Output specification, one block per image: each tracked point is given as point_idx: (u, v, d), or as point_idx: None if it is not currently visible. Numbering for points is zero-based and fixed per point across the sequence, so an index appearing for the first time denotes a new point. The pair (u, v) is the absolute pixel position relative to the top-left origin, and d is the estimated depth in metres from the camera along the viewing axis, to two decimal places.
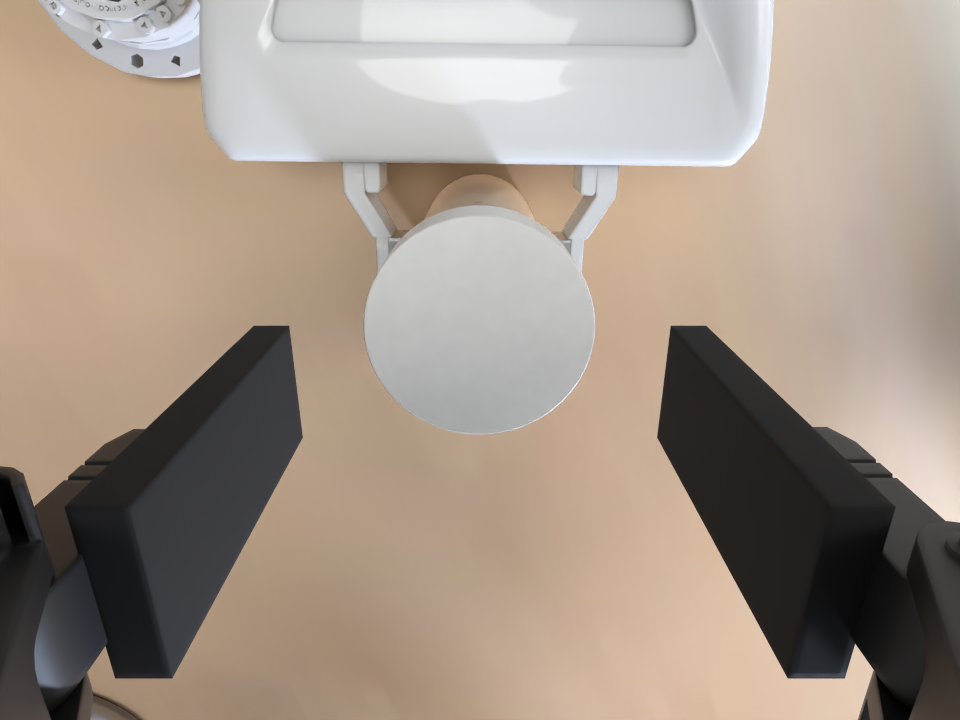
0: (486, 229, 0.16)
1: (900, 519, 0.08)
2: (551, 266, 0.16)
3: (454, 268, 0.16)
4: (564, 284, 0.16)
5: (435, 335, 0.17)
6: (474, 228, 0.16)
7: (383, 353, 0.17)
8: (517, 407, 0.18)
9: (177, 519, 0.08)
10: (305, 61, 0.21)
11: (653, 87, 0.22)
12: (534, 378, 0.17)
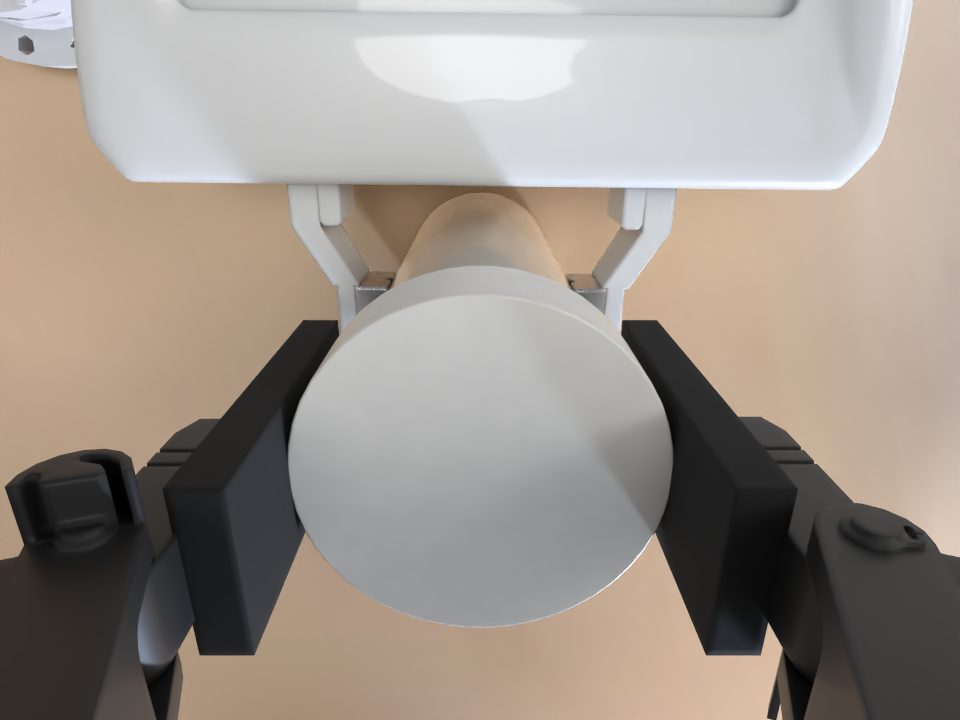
0: (493, 317, 0.09)
1: (812, 502, 0.08)
2: (604, 378, 0.09)
3: (438, 381, 0.09)
4: (625, 406, 0.10)
5: (407, 484, 0.10)
6: (472, 316, 0.09)
7: (322, 511, 0.10)
8: (540, 589, 0.11)
9: (257, 503, 0.09)
10: (226, 38, 0.15)
11: (732, 77, 0.15)
12: (570, 548, 0.11)
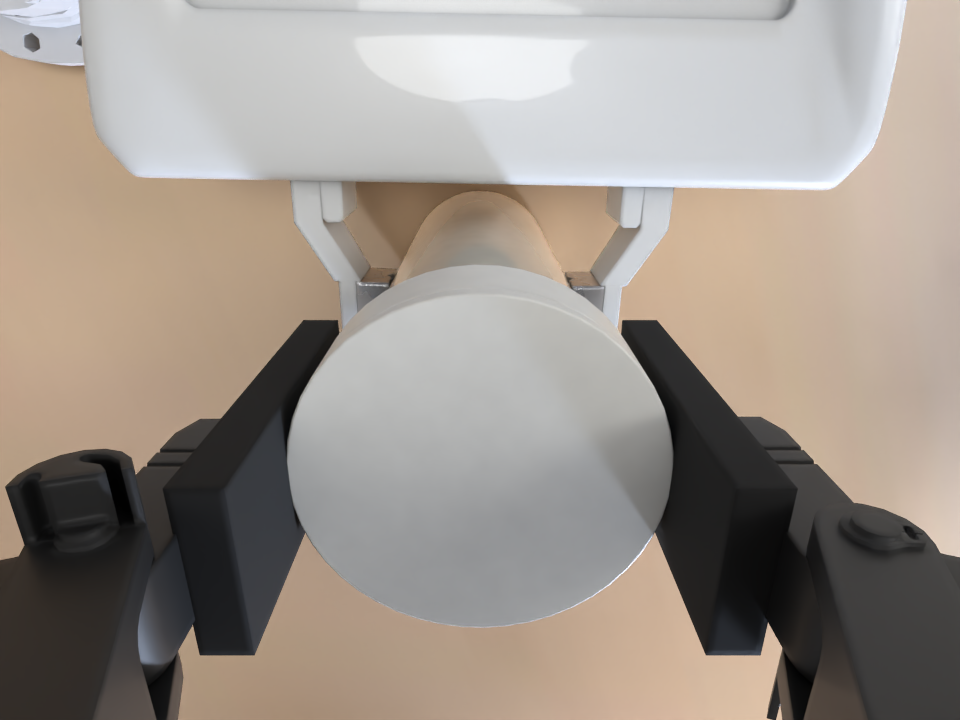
0: (309, 486, 0.10)
1: (811, 502, 0.08)
2: (347, 386, 0.09)
3: (378, 523, 0.10)
4: (374, 361, 0.09)
5: (491, 540, 0.11)
6: (311, 501, 0.10)
7: (528, 603, 0.11)
8: (618, 409, 0.10)
9: (258, 502, 0.09)
10: (232, 37, 0.15)
11: (730, 78, 0.15)
12: (557, 386, 0.09)
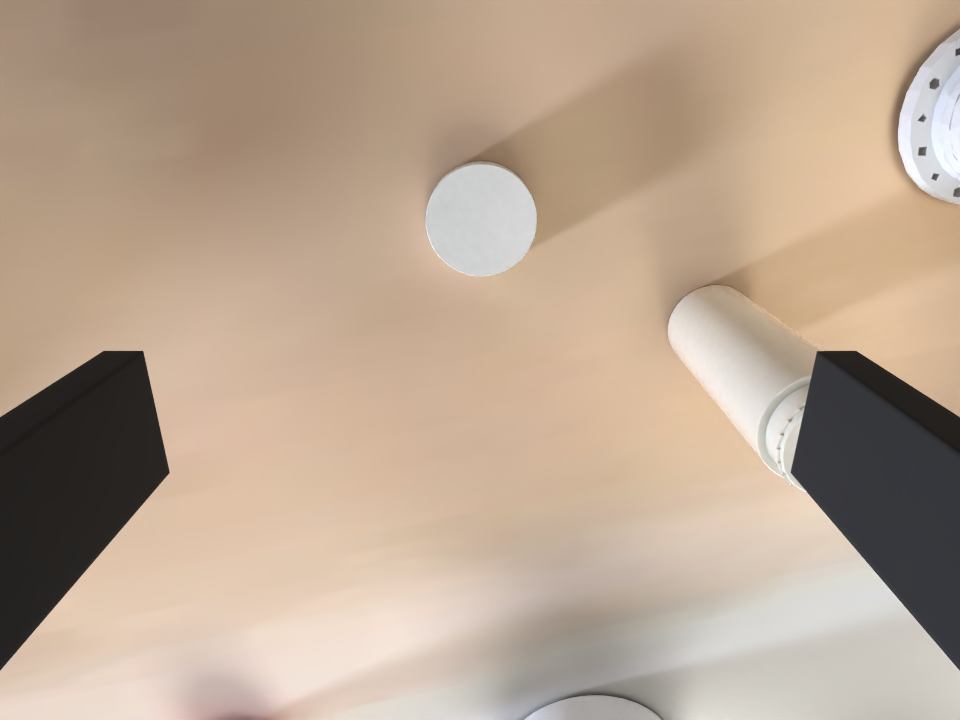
0: (432, 224, 0.35)
1: None
2: (445, 191, 0.34)
3: (451, 236, 0.35)
4: (452, 183, 0.34)
5: (484, 242, 0.35)
6: (432, 229, 0.35)
7: (496, 266, 0.36)
8: (520, 198, 0.35)
9: None
10: None
11: None
12: (502, 191, 0.34)
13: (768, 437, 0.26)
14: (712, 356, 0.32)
